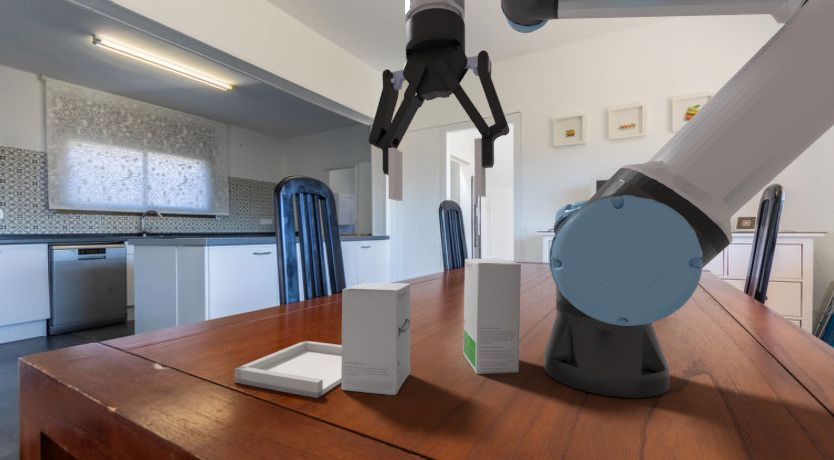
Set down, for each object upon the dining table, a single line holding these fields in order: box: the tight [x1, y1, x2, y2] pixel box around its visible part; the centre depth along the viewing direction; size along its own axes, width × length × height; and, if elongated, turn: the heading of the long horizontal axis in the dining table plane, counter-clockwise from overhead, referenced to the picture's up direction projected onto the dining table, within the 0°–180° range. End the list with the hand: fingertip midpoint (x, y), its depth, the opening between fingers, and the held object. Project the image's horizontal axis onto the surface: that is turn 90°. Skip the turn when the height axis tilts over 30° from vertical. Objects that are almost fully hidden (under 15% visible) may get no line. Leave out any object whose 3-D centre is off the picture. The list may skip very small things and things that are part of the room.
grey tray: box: [234, 340, 342, 399], centre depth 51 cm, size 13×14×2 cm
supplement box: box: [340, 282, 411, 396], centre depth 47 cm, size 7×7×13 cm
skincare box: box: [462, 258, 522, 375], centre depth 54 cm, size 8×7×16 cm
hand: (436, 197), depth 45 cm, fingers open, 10 cm apart
